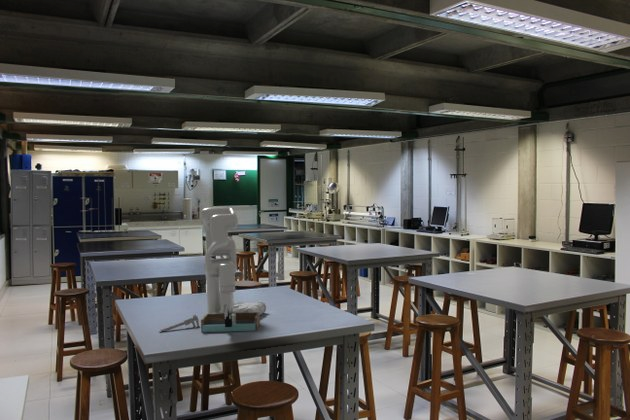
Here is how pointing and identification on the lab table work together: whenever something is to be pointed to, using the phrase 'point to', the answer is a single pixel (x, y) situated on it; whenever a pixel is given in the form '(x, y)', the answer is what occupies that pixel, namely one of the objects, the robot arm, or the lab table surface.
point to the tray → (220, 327)
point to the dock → (238, 317)
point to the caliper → (183, 323)
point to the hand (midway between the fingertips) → (228, 326)
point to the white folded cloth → (248, 307)
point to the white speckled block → (233, 318)
